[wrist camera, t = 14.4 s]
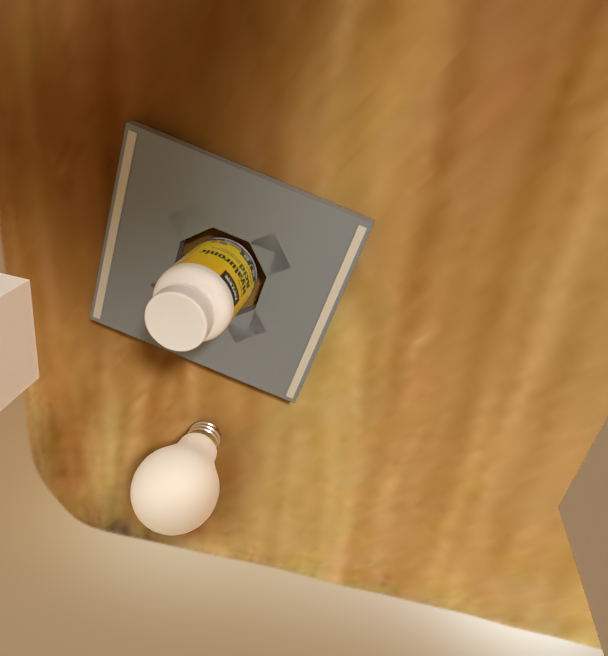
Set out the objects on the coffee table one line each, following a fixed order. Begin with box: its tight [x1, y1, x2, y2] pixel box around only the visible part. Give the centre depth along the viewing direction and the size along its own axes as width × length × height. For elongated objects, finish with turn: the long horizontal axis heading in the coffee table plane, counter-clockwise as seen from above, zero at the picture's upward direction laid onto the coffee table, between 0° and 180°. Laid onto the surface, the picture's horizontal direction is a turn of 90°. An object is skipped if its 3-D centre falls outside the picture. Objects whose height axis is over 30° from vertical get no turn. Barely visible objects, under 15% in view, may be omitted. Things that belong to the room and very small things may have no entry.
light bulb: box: [130, 421, 221, 536], centre depth 43 cm, size 7×7×11 cm
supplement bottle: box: [145, 237, 257, 351], centre depth 37 cm, size 5×5×10 cm
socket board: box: [89, 121, 374, 403], centre depth 40 cm, size 16×18×1 cm
